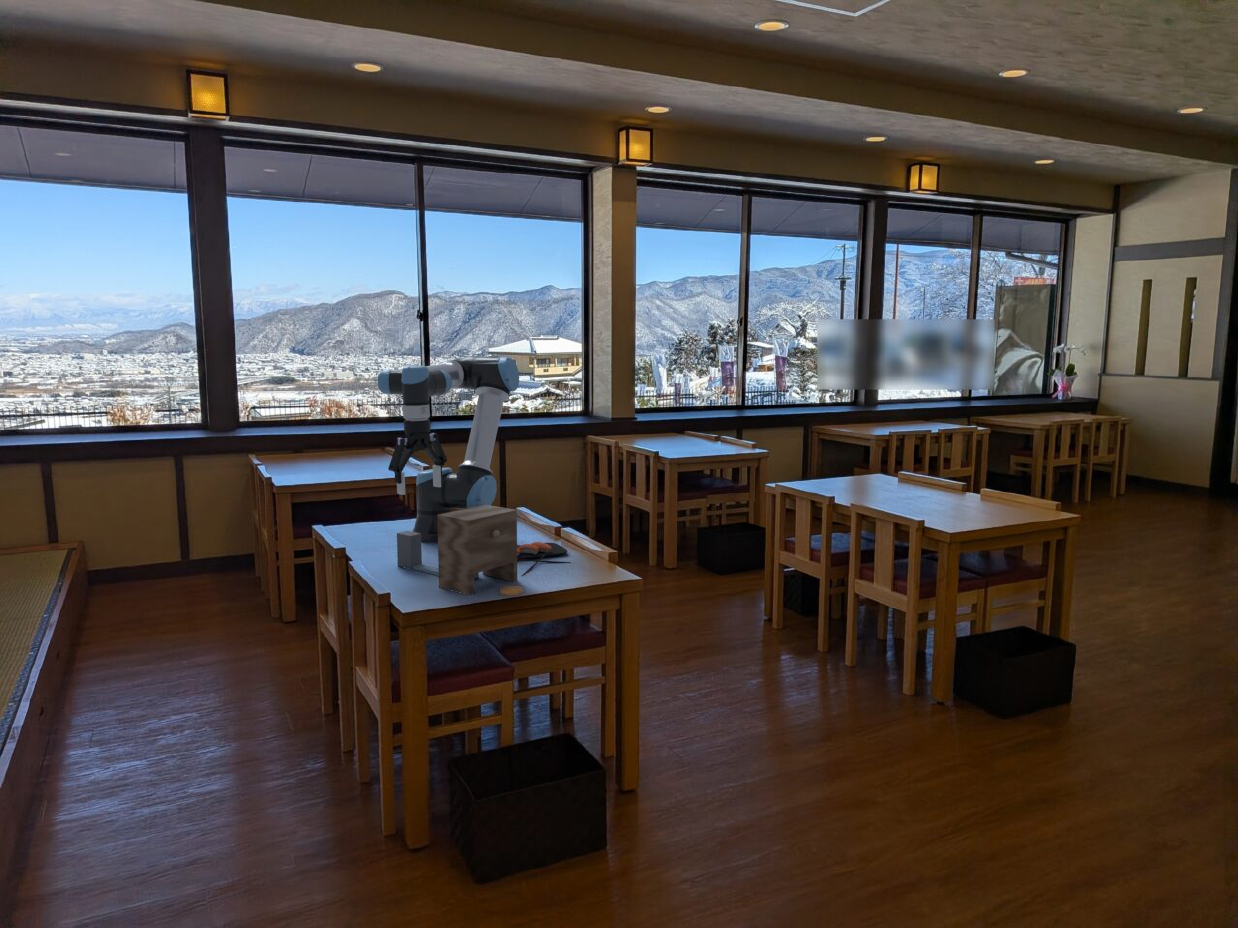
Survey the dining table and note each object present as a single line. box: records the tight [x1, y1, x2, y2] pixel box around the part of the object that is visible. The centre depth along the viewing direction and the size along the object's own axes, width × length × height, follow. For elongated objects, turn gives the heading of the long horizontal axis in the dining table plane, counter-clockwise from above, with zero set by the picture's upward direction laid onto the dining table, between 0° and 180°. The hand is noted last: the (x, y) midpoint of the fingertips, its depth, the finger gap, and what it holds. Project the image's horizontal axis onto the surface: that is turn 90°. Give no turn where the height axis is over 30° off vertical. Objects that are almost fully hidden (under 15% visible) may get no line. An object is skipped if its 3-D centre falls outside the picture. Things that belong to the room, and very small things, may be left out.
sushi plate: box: [517, 541, 572, 577], centre depth 258 cm, size 29×30×4 cm
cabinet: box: [437, 504, 518, 596], centre depth 233 cm, size 13×18×20 cm
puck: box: [499, 585, 524, 596], centre depth 227 cm, size 6×6×1 cm
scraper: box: [396, 530, 480, 580], centre depth 244 cm, size 27×9×10 cm, turn 54°
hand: (419, 490), depth 253 cm, fingers open, 13 cm apart
